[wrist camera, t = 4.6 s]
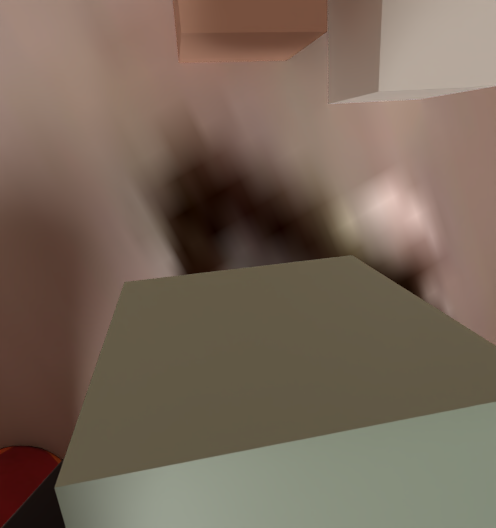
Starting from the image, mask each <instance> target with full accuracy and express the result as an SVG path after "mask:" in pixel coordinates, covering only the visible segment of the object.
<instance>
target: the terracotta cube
mask: <svg viewBox="0 0 496 528" xmlns="http://www.w3.org/2000/svg"><path fill="white" fill-rule="evenodd" d="M173 7H174V17H175V27H176V37H177V47H178V57H179V63H195V62H238V61H282V60H288V59H290V58H291V57H293V56H294V55H295V54H297V53H298V52H299V51H301V50H302V49H304V48H305V47H306V46H308V45H309V44H311V43H312V42H313V41H315V40H316V39H317V38H319V37H320V36H322V35H323V34H324V33H326V32H327V0H173Z"/></svg>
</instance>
